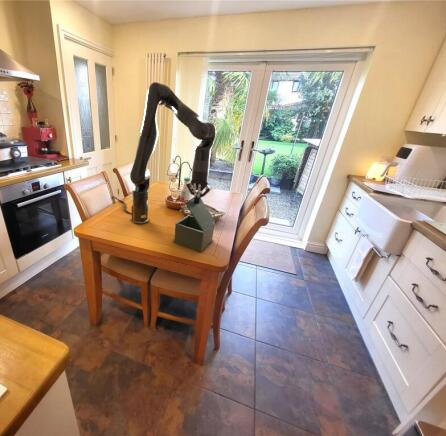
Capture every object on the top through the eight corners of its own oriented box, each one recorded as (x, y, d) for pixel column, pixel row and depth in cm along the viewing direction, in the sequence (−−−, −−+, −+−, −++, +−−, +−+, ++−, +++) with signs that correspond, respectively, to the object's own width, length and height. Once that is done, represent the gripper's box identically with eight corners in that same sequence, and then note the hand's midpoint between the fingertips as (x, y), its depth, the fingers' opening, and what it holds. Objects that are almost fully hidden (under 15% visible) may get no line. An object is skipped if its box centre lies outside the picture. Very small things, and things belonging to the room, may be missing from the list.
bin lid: (184, 202, 111) (185, 201, 111) (197, 195, 122) (198, 194, 121) (202, 232, 111) (204, 231, 110) (214, 222, 121) (215, 221, 121)
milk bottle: (189, 202, 176) (191, 176, 168) (190, 206, 169) (193, 179, 161) (179, 202, 176) (181, 176, 168) (180, 206, 169) (182, 179, 161)
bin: (174, 241, 123) (175, 223, 119) (186, 232, 134) (188, 214, 129) (200, 251, 116) (203, 232, 111) (212, 240, 126) (214, 222, 121)
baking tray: (172, 213, 157) (173, 205, 155) (192, 205, 172) (192, 198, 169) (210, 228, 139) (212, 220, 137) (228, 217, 154) (230, 210, 151)
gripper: (217, 170, 108) (212, 204, 115) (191, 165, 114) (188, 198, 122) (210, 173, 102) (205, 209, 109) (184, 168, 109) (181, 202, 116)
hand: (196, 203), depth 115 cm, fingers closed
